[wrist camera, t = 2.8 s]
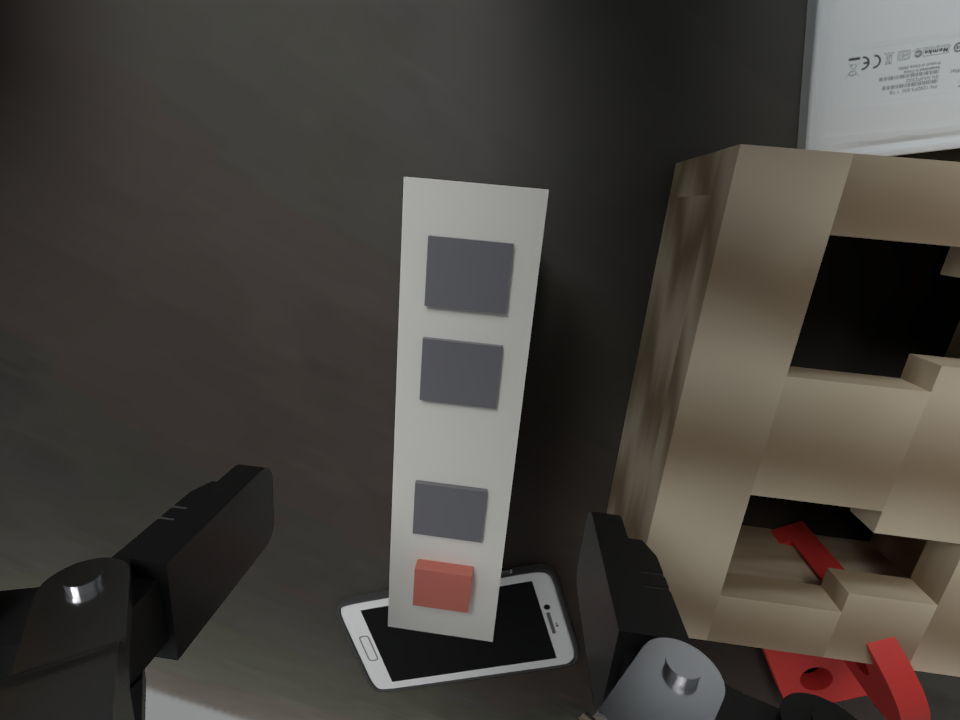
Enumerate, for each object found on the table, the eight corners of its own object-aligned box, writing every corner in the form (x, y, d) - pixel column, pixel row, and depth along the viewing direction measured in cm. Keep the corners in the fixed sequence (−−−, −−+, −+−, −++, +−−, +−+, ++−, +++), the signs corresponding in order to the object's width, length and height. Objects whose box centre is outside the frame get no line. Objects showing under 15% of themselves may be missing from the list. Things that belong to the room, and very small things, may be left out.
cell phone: (336, 594, 32) (330, 606, 31) (552, 555, 30) (553, 567, 29) (376, 681, 34) (371, 694, 33) (581, 651, 32) (582, 665, 31)
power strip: (450, 188, 21) (399, 175, 13) (540, 196, 21) (549, 189, 13) (430, 497, 26) (384, 637, 18) (503, 507, 26) (491, 653, 17)
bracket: (720, 545, 28) (791, 671, 20) (802, 520, 27) (909, 643, 19) (779, 694, 30) (862, 854, 23) (856, 677, 29) (969, 837, 22)
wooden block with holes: (675, 163, 22) (740, 144, 15) (1048, 194, 21) (1289, 188, 14) (603, 529, 28) (626, 628, 22) (888, 567, 27) (1004, 683, 21)
